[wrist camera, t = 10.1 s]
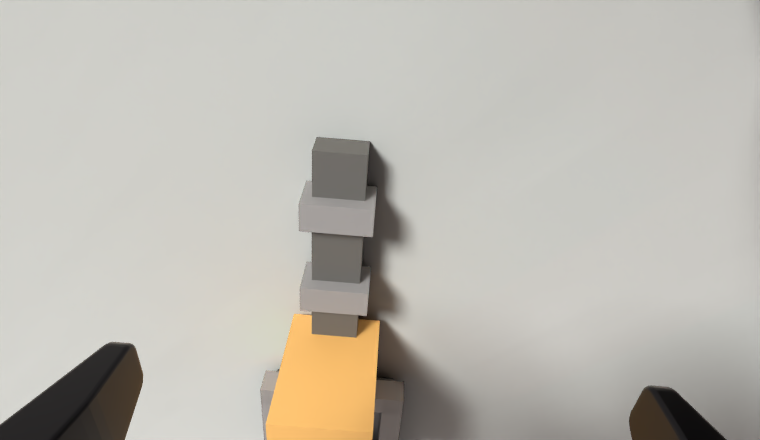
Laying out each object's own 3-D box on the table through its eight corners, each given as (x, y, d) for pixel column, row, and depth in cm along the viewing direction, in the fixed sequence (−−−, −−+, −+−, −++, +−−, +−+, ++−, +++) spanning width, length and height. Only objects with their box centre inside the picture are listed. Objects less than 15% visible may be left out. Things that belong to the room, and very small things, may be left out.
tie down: (250, 131, 20) (197, 216, 15) (436, 146, 20) (446, 236, 15) (271, 454, 31) (244, 567, 26) (392, 464, 31) (389, 578, 26)
